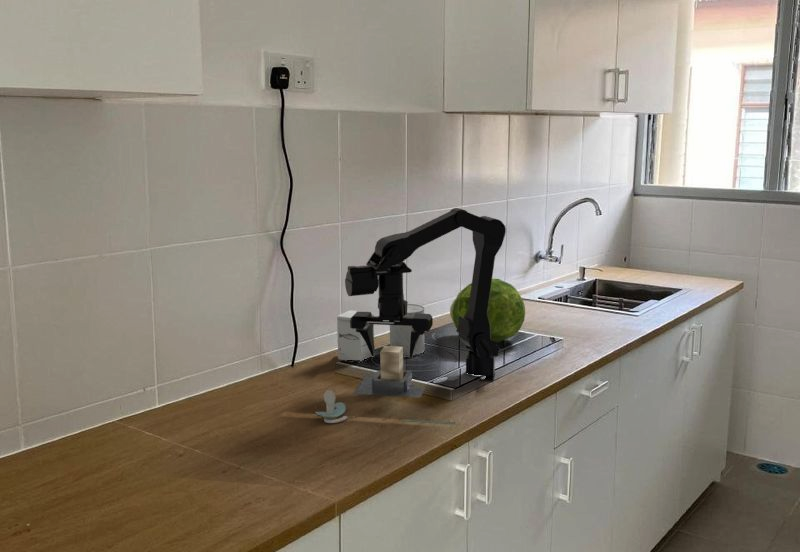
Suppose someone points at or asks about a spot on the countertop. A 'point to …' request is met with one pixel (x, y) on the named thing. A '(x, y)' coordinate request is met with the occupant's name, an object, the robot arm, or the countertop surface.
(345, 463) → the countertop surface
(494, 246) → the robot arm
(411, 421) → the pad
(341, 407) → the pacifier
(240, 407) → the countertop surface
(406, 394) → the pocket fixture
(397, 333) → the white stone cylinder
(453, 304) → the lettuce
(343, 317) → the supplement box
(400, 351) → the maple block
